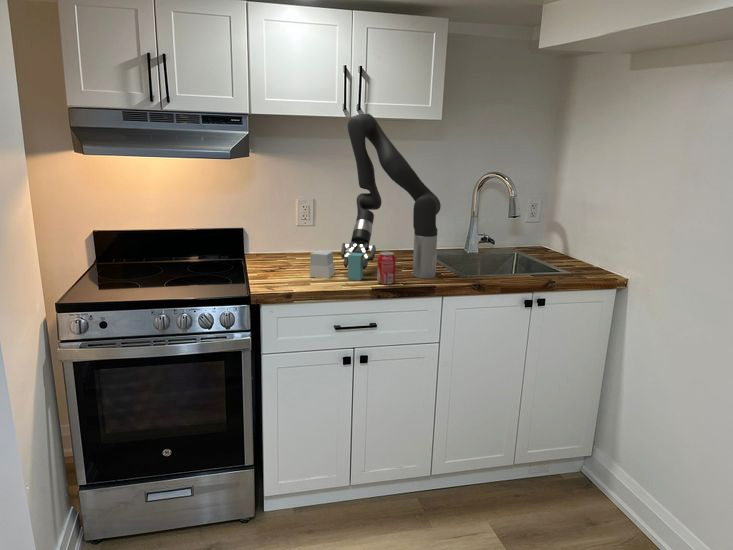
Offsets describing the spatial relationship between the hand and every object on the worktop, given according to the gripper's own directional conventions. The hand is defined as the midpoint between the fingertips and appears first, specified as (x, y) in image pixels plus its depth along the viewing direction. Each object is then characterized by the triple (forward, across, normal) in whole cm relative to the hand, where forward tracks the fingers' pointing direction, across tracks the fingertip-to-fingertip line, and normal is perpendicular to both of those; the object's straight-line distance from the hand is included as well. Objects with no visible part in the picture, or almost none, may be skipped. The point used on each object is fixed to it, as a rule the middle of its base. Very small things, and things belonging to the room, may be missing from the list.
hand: (354, 267), depth 217 cm
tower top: (-1, -14, +1) cm, 14 cm away
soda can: (+5, +13, +3) cm, 14 cm away
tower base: (+3, -14, +5) cm, 15 cm away
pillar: (+2, 0, +5) cm, 5 cm away
